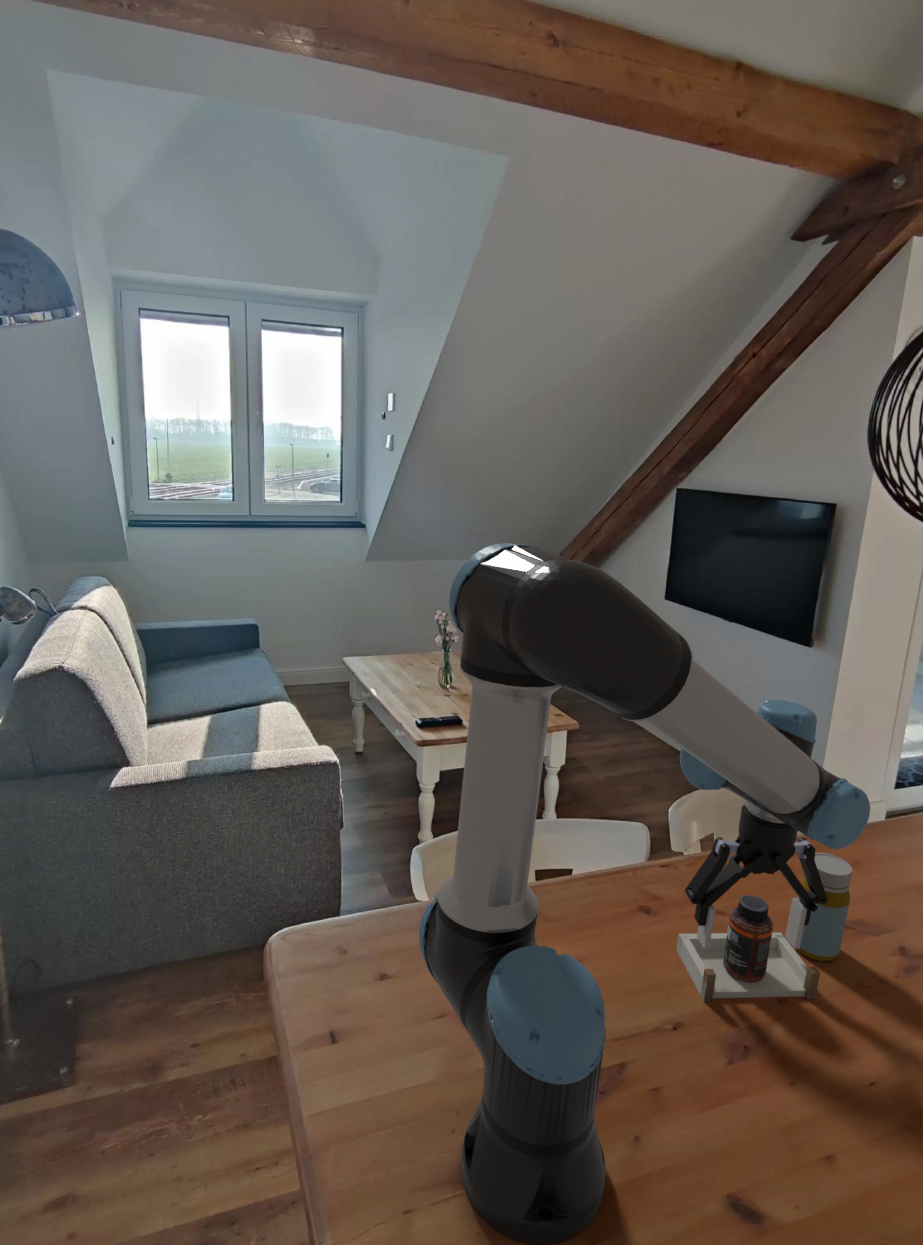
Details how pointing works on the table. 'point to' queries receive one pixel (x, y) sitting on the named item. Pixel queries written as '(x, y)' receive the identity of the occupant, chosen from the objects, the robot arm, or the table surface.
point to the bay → (715, 981)
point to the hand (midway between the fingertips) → (747, 942)
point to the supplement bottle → (748, 939)
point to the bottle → (827, 910)
